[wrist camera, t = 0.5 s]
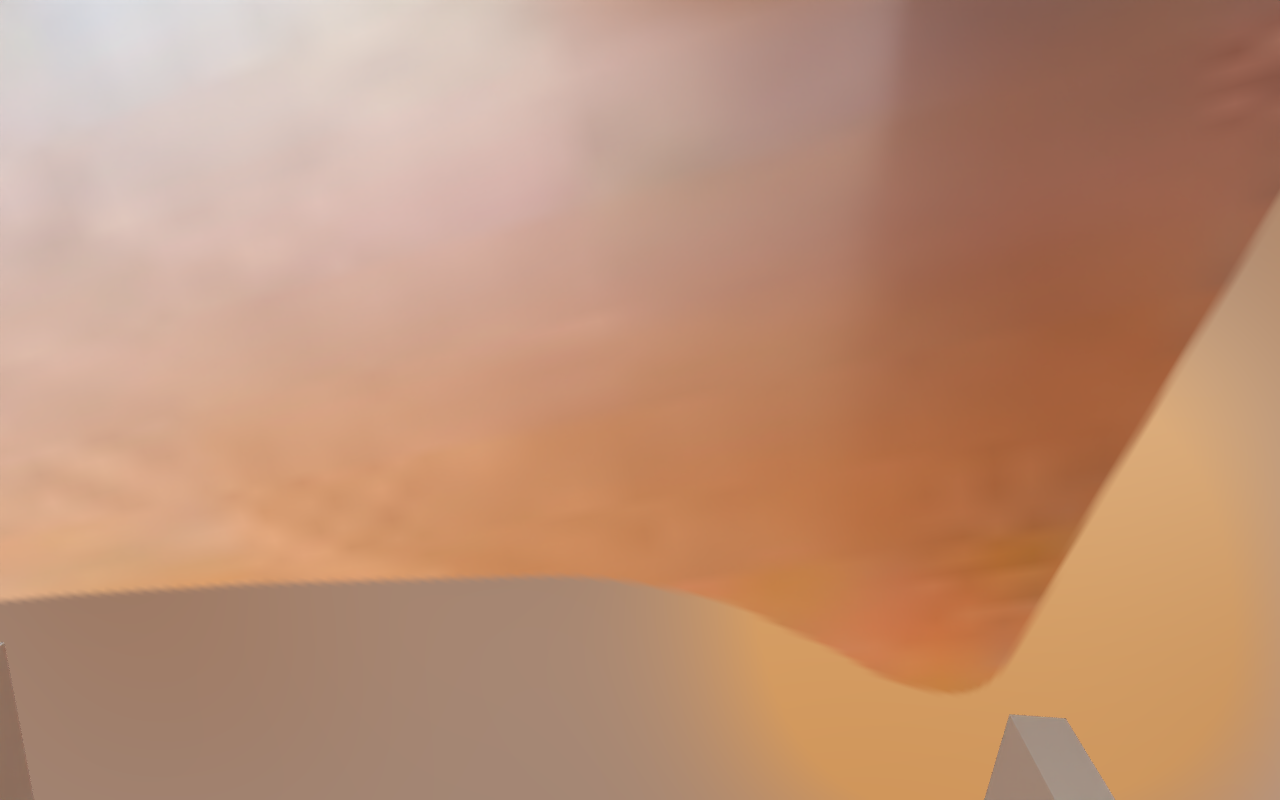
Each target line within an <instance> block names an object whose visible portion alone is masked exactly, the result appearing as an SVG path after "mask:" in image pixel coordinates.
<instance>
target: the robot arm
mask: <svg viewBox="0 0 1280 800" xmlns="http://www.w3.org/2000/svg"><path fill="white" fill-rule="evenodd" d="M0 800H34V797H33V791H32V786H31V781H30V775H29V770H28V765H27V760H26V754H25V749H24V744H23V739H22V733H21V728H20V723H19V717H18V712H17V707H16V702H15V696H14V691H13V686H12V681H11V675H10V670H9V665H8V660H7V654H6V649H5V644H4V642H0ZM984 800H1115V799H1114V797H1113V795H1112V794H1111V792H1110V790H1109V789H1108V787H1107V786H1106V784H1105V782H1104V781H1103V779H1102V777H1101V776H1100V774H1099V772H1098V771H1097V769H1096V768H1095V766H1094V764H1093V763H1092V761H1091V759H1090V758H1089V756H1088V754H1087V753H1086V751H1085V749H1084V748H1083V746H1082V744H1081V743H1080V741H1079V740H1078V738H1077V736H1076V735H1075V733H1074V732H1073V730H1072V728H1071V726H1070V725H1069V723H1068V721H1067V720H1066V719H1065V718H1053V717H1038V716H1025V715H1009V718H1008V721H1007V725H1006V728H1005V731H1004V735H1003V738H1002V741H1001V745H1000V748H999V752H998V755H997V758H996V762H995V765H994V769H993V772H992V775H991V779H990V782H989V786H988V789H987V793H986V796H985V799H984Z"/></svg>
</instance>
